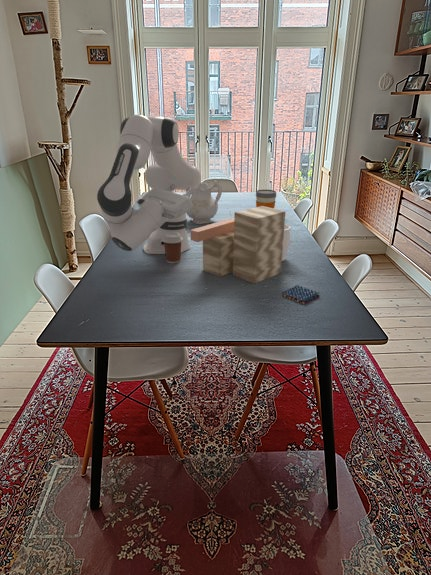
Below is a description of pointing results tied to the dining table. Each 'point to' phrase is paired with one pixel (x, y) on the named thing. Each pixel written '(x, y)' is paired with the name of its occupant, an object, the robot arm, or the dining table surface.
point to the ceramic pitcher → (204, 203)
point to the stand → (258, 243)
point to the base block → (219, 254)
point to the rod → (212, 230)
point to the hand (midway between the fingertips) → (182, 187)
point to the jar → (286, 241)
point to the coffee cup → (172, 247)
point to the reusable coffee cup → (265, 198)
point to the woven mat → (300, 294)
